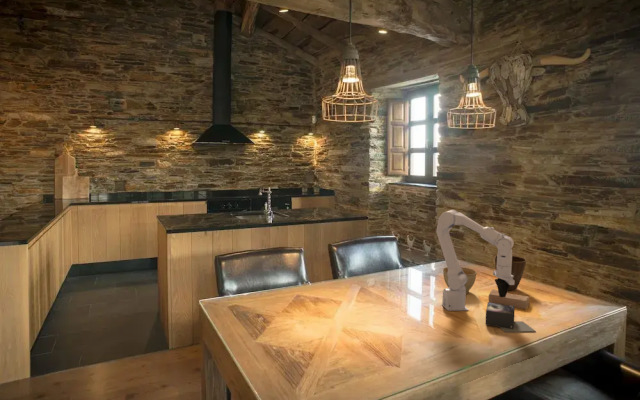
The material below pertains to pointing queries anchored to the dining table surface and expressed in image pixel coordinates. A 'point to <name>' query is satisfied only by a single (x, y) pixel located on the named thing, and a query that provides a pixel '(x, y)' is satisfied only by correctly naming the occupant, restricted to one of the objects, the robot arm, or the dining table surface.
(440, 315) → the dining table surface
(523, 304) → the brick
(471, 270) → the planter bowl
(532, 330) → the mat
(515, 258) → the plant pot
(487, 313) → the small box
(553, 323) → the dining table surface
